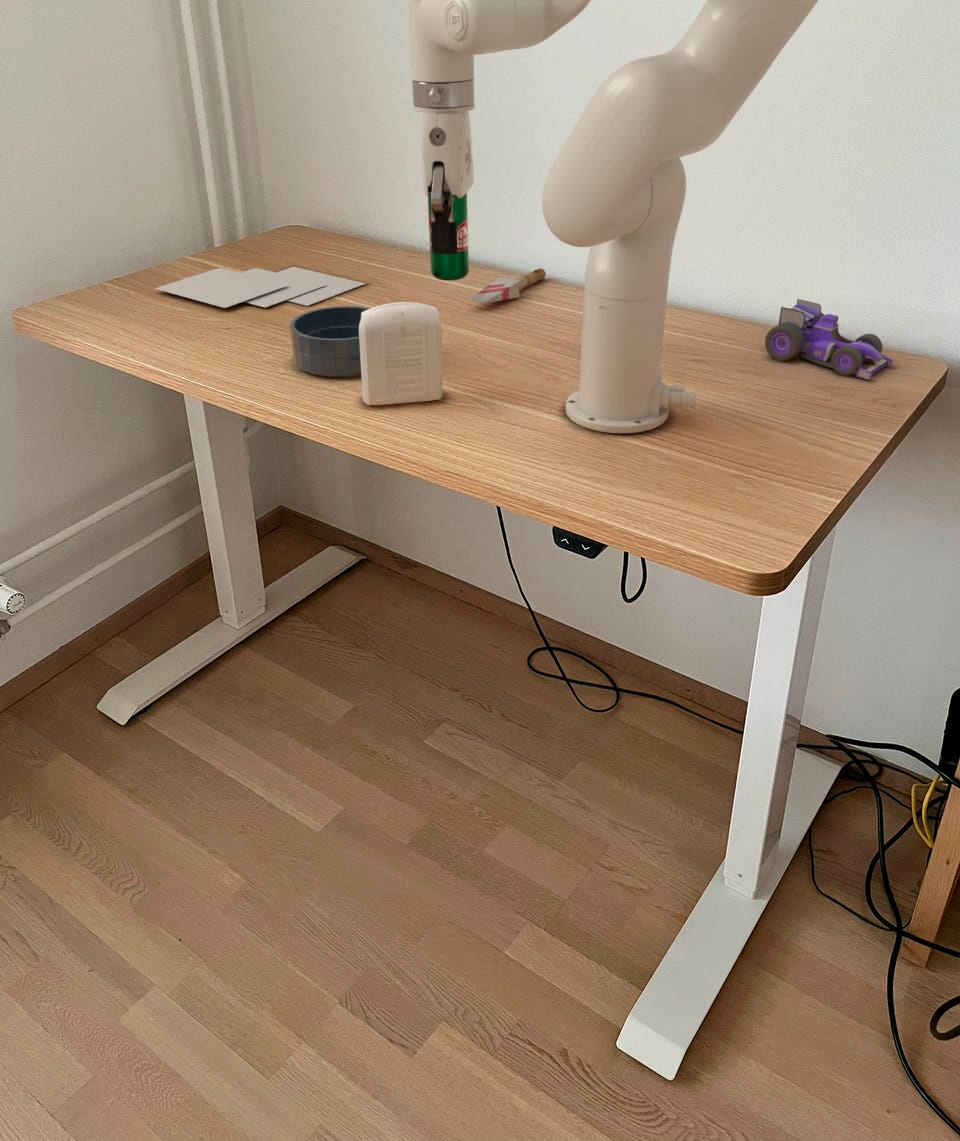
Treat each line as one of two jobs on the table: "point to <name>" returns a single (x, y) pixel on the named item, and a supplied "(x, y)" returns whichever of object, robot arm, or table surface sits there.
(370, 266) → the table surface
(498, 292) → the paintbrush
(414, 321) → the photo printer
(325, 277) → the paper stack
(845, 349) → the toy race car
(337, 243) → the table surface
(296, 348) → the bowl
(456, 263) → the soda can
